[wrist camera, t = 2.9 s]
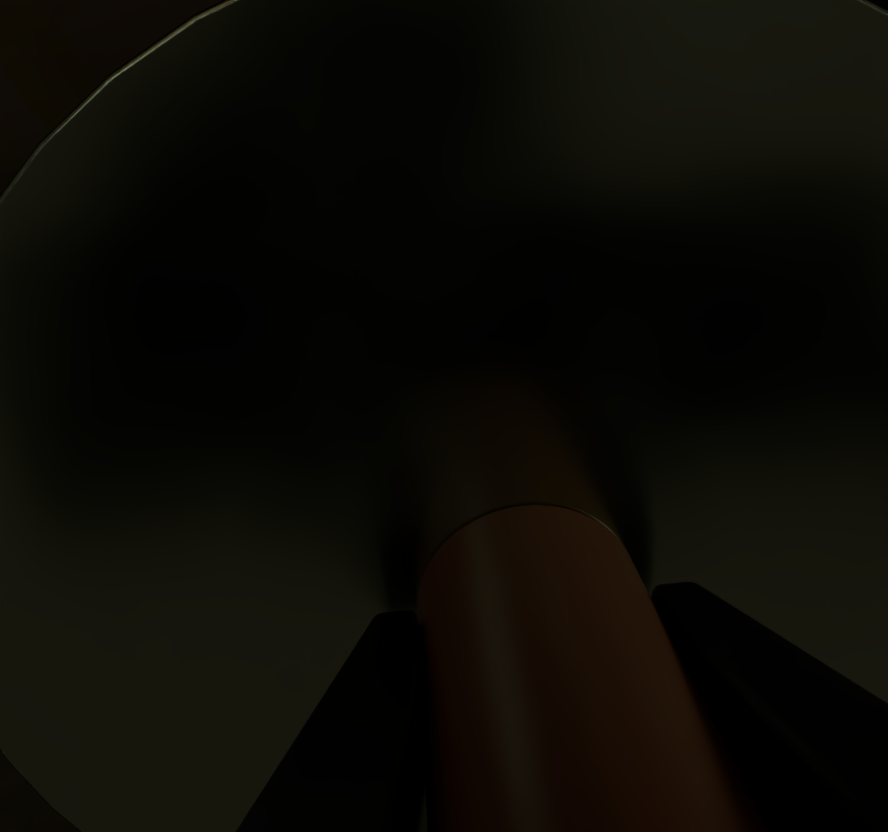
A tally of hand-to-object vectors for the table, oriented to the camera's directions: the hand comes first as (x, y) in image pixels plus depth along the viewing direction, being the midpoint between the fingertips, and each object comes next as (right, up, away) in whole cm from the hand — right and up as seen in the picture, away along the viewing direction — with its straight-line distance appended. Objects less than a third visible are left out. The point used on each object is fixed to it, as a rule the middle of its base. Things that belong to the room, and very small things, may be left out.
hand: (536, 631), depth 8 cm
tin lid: (0, 0, +1) cm, 1 cm away
